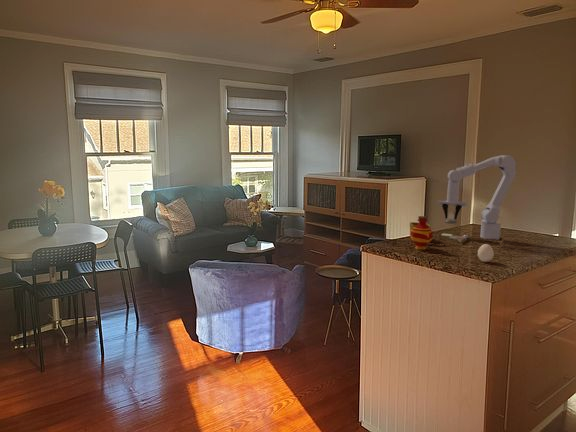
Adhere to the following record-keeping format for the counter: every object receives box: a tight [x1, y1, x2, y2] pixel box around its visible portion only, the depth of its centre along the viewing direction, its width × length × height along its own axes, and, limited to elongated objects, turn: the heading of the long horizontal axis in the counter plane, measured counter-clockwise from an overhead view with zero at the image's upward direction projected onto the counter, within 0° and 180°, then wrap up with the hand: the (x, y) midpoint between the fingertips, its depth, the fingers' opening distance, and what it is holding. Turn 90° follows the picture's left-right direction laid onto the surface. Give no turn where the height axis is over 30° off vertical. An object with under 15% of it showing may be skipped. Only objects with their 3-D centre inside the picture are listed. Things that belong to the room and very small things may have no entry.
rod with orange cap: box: [456, 234, 469, 242], centre depth 223 cm, size 14×2×2 cm, turn 145°
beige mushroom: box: [444, 211, 458, 225], centre depth 235 cm, size 6×6×6 cm
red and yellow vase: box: [409, 215, 434, 250], centre depth 210 cm, size 10×10×15 cm
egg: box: [477, 243, 494, 263], centre depth 188 cm, size 6×6×8 cm
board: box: [448, 235, 468, 241], centre depth 231 cm, size 14×20×2 cm
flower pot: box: [409, 221, 431, 234], centre depth 226 cm, size 9×9×9 cm
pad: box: [441, 233, 454, 237], centre depth 239 cm, size 5×5×1 cm
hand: (450, 219), depth 235 cm, fingers closed on beige mushroom, 4 cm apart
